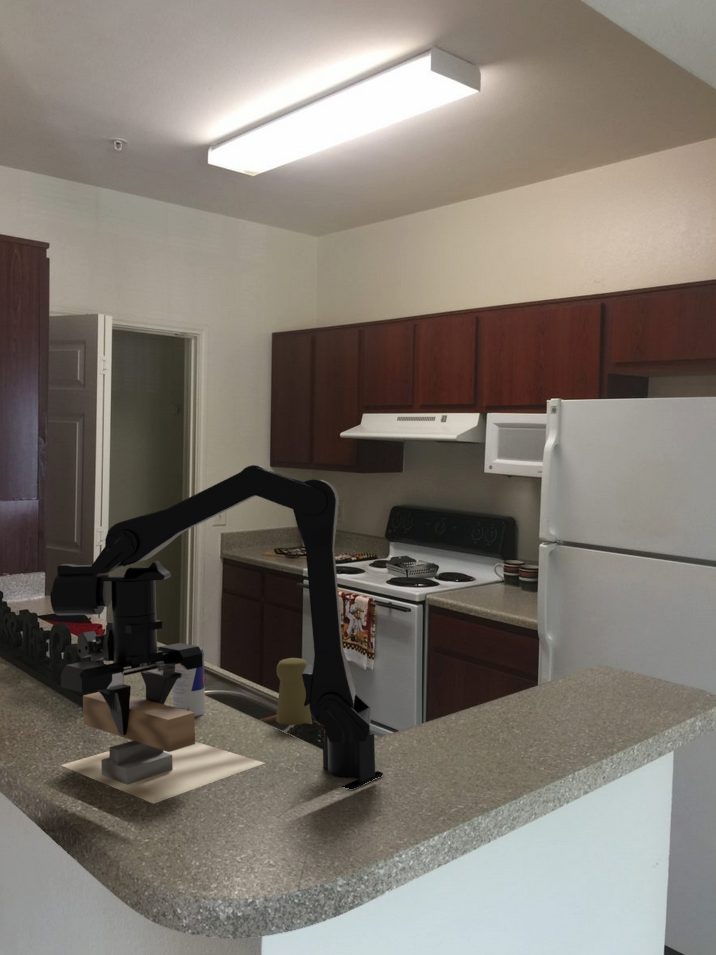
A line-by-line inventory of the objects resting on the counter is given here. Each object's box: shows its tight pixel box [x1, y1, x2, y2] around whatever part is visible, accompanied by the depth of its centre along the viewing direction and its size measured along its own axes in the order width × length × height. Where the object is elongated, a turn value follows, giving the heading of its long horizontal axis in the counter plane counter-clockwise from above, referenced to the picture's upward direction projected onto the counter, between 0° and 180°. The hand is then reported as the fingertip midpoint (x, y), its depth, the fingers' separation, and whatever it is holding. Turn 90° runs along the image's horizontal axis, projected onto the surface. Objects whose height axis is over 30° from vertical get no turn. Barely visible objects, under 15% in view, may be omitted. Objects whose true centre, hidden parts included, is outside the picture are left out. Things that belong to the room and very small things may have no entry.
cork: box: [275, 657, 313, 726], centre depth 133 cm, size 6×6×11 cm
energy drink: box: [171, 645, 206, 718], centre depth 138 cm, size 5×5×12 cm
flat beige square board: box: [60, 740, 266, 804], centre depth 113 cm, size 22×18×5 cm
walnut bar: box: [82, 691, 196, 752], centre depth 110 cm, size 20×4×4 cm, turn 49°
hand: (137, 730), depth 110 cm, fingers closed on walnut bar, 4 cm apart
